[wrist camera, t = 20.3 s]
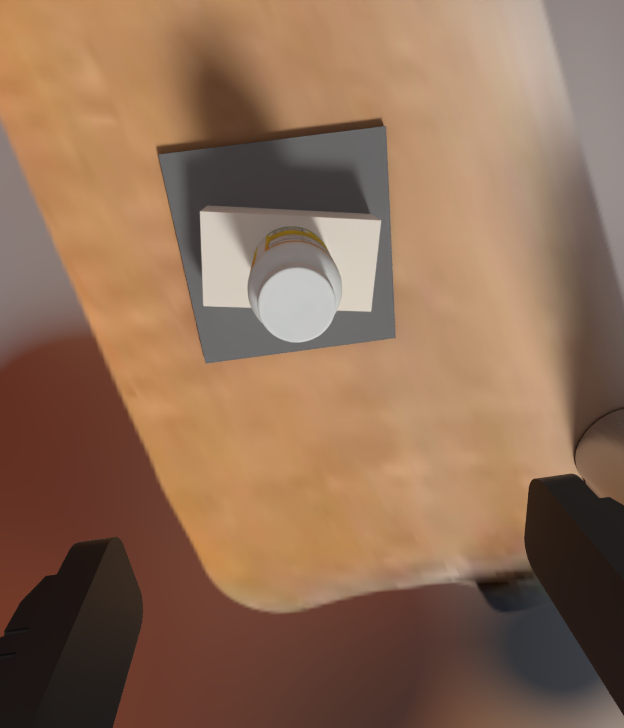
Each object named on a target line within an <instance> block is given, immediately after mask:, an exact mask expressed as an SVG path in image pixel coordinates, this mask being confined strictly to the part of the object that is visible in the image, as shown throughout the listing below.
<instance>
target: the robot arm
mask: <svg viewBox="0 0 624 728" xmlns="http://www.w3.org/2000/svg"><path fill="white" fill-rule="evenodd" d="M575 461H576V467H577V469H578V472H579V473H580V475H581V476H582V477H583V478H584V479H585V482H586V483H585V482H584V481H583V480H582V479H581V478H580V477H578V476H577V475H575V474H565V475H558V476H551V477H544V478H537V479H533V480H532V481H531V482H530V485H529V492H528V503H527V514H526V525H525V536H524V541H525V549H526V553H527V557H528V560H529V563H530V565H531V567H532V569H533V571H534V573H535V575H536V576H537V578H538V579H539V581H540V583H541V584H542V586H543V587H544V589H545V591H546V592H547V594H548V595H549V597H550V599H551V600H552V602H553V603H554V605H555V606H556V608H557V610H558V611H559V613H560V614H561V616H562V618H563V619H564V621H565V622H566V624H567V626H568V627H569V629H570V630H571V632H572V634H573V635H574V637H575V638H576V640H577V641H578V643H579V645H580V646H581V648H582V650H583V651H584V653H585V654H586V656H587V658H588V659H589V661H590V662H591V664H592V666H593V667H594V669H595V670H596V672H597V674H598V675H599V677H600V678H601V680H602V682H603V683H604V685H605V686H606V688H607V690H608V691H609V693H610V694H611V696H612V698H613V699H614V701H615V702H616V704H617V705H618V707H619V709H620V710H621V712H622V714H623V715H624V409H620V410H617V411H614V412H612V413H610V414H608V415H606V416H604V417H603V418H601V419H599V420H598V421H597V422H596V423H594V424H593V425H592V426H591V427H590V428H589V429H588V430H587V432H586V433H585V434H584V435H583V437H582V439H581V440H580V442H579V444H578V447H577V450H576V456H575ZM142 615H143V602H142V595H141V591H140V589H139V586H138V583H137V580H136V578H135V575H134V572H133V570H132V567H131V564H130V561H129V559H128V556H127V553H126V551H125V548H124V545H123V543H122V541H121V540H120V539H119V538H117V537H112V538H106V539H99V540H91V541H84V542H78V543H75V544H74V545H73V546H72V547H71V549H70V550H69V552H68V554H67V556H66V558H65V560H64V562H63V563H62V565H61V568H60V569H59V571H58V573H57V575H51V576H45V577H44V579H42V581H41V582H40V583H39V584H38V585H37V586H36V587H35V588H34V589H33V590H32V591H31V592H30V593H29V594H28V595H27V596H26V597H25V598H24V599H23V600H22V601H21V603H20V604H19V606H18V608H17V610H16V611H15V613H14V615H13V617H12V618H11V620H10V622H9V624H8V626H7V627H6V629H5V631H4V632H5V634H4V637H1V638H0V728H113V724H114V721H115V717H116V714H117V710H118V707H119V703H120V700H121V696H122V692H123V689H124V686H125V682H126V678H127V675H128V671H129V668H130V664H131V661H132V657H133V654H134V650H135V647H136V643H137V639H138V636H139V632H140V629H141V624H142V617H143V616H142Z"/></svg>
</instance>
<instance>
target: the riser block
mask: <svg viewBox="0 0 624 728" xmlns="http://www.w3.org/2000/svg"><path fill="white" fill-rule="evenodd" d="M285 226H299V227H303V228H305V229H308V230H310V231H312V232H313V233H315V234H316V235H317V236H318V237H319V238H320V239H321V240H322V241H323V242H324V244H325V245H326V247H327V249H328V251H329V253H330V255H331V257H332V259H333V260H334V262H335V264H336V266H337V268H338V270H339V273H340V276H341V281H342V297H341V301H340V305H339V307H338V309H337V311H365V312H371V308H372V299H373V290H374V281H375V272H376V263H377V254H378V245H379V236H380V227H381V220H380V219H378V218H376V217H375V216H373V215H371V214H364V213H345V212H325V211H306V210H287V209H267V208H248V207H229V206H209V205H208V206H206V207H205V208H204V209H202V210H201V211H200V228H201V256H202V284H203V306H212V307H242V308H251V306H250V303H249V299H248V290H247V287H248V279H249V274H250V270H251V266H252V261H253V257H254V253H255V251H256V248H257V246H258V244H259V243H260V241H261V240H262V239H263V238H264V237H265V236H266V235H267V234H268V233H270V232H271V231H273V230H275V229H277V228H280V227H285Z"/></svg>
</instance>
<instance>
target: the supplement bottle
mask: <svg viewBox="0 0 624 728" xmlns="http://www.w3.org/2000/svg"><path fill="white" fill-rule="evenodd" d="M247 290H248V299H249V303H250V306H251V308H252V310H253V312H254V314H255V315H256V317H257V318H258V319H259V320H260V322H261V323H263V324H264V326H265V327H266V329H267V330H268V331H269V332H270V333H272V334H273V335H274V336H276V337H278V338H279V339H282V340H285V341H288V342H305V341H309V340H312V339H314V338H316V337H318V336H319V335H321V334H322V333H323V332H324V331H325V330H326V329H327V328H328V327H329V325H330V324H331V322H332V320H333V317H334V315H335V313H336V311H337V309H338V307H339V305H340V301H341V297H342V281H341V276H340V273H339V270H338V268H337V266H336V264H335V262H334V260H333V259H332V257H331V255H330V253H329V251H328V249H327V247H326V245H325V244H324V242H323V241H322V240H321V239H320V238H319V237H318V236H317V235H316V234H315V233H313V232H312V231H310V230H308V229H305V228H303V227H299V226H285V227H280V228H277V229H275V230H273V231H271V232H270V233H268V234H267V235H266V236H265V237H264V238H263V239H262V240H261V241H260V243H259V244H258V246H257V248H256V251H255V253H254V257H253V261H252V266H251V270H250V274H249V279H248V287H247Z"/></svg>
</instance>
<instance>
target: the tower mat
mask: <svg viewBox="0 0 624 728" xmlns="http://www.w3.org/2000/svg"><path fill="white" fill-rule="evenodd" d="M158 155H159V160H160V164H161V169H162V173H163V177H164V182H165V186H166V191H167V195H168V200H169V204H170V208H171V213H172V217H173V222H174V226H175V230H176V235H177V239H178V244H179V248H180V252H181V257H182V261H183V266H184V270H185V274H186V279H187V283H188V288H189V292H190V296H191V301H192V305H193V310H194V314H195V318H196V323H197V327H198V332H199V336H200V341H201V345H202V349H203V354H204V358H205V363H213V362H220V361H228V360H235V359H243V358H250V357H258V356H265V355H272V354H280V353H287V352H295V351H302V350H309V349H317V348H324V347H332V346H339V345H347V344H354V343H361V342H369V341H376V340H384V339H391V338H395V315H394V293H393V271H392V249H391V227H390V205H389V182H388V160H387V138H386V126H382V127H374V128H366V129H358V130H350V131H342V132H334V133H326V134H318V135H310V136H302V137H294V138H286V139H278V140H270V141H262V142H254V143H246V144H238V145H230V146H222V147H214V148H206V149H198V150H190V151H182V152H174V153H166V154H158ZM208 205H209V206H229V207H248V208H267V209H287V210H306V211H325V212H345V213H364V214H371V215H373V216H375V217H376V218H378V219H380V220H381V227H380V236H379V245H378V254H377V263H376V272H375V281H374V290H373V299H372V308H371V312H365V311H336V313H335V315H334V317H333V320H332V322H331V324H330V325H329V327H328V328H327V329H326V330H325V331H324V332H323V333H322V334H321V335H319V336H318V337H316V338H314V339H312V340H309V341H305V342H288V341H285V340H282V339H279V338H278V337H276V336H274V335H273V334H272V333H270V332H269V331H268V330H267V329H266V327H265V326H264V324H263V323H261V322H260V320H259V319H258V318H257V317H256V315H255V314H254V312H253V310H252V308H242V307H212V306H203V284H202V256H201V228H200V211H201V210H202V209H204V208H205V207H206V206H208Z"/></svg>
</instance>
